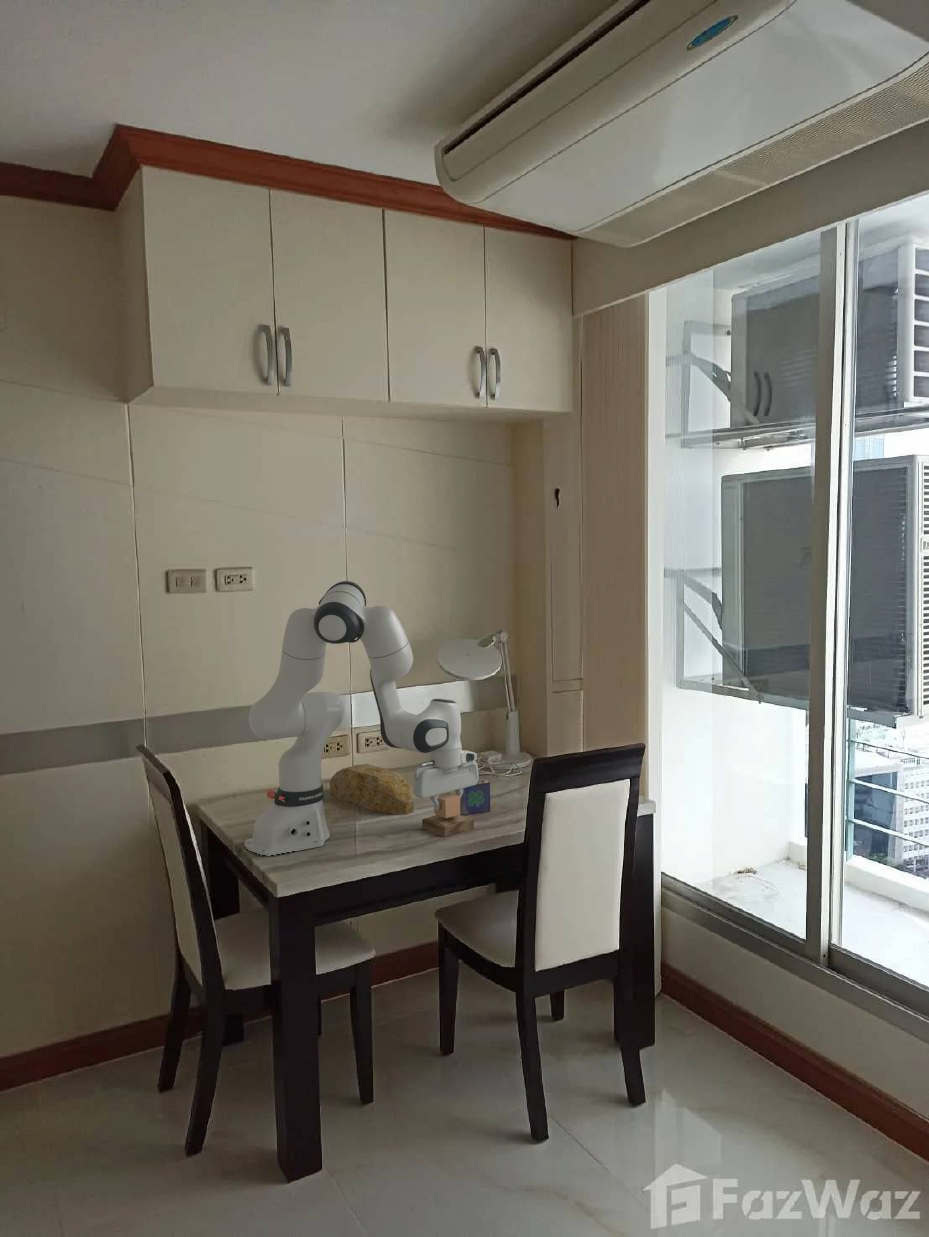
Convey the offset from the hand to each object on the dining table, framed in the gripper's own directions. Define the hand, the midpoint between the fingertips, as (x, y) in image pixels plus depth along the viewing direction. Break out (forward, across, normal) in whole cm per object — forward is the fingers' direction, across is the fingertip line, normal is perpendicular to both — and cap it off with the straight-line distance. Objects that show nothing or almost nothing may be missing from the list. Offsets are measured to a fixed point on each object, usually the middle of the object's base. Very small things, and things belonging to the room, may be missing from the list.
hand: (447, 807), depth 252 cm
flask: (+6, +14, +5) cm, 16 cm away
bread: (+6, -1, +36) cm, 36 cm away
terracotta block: (+2, 0, 0) cm, 2 cm away
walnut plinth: (+6, 0, 0) cm, 6 cm away
